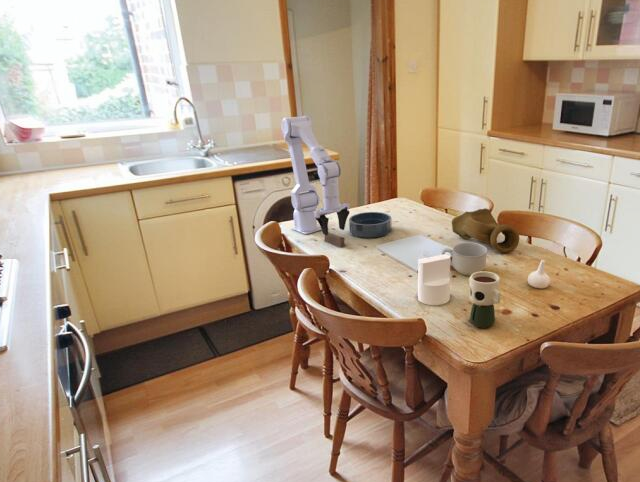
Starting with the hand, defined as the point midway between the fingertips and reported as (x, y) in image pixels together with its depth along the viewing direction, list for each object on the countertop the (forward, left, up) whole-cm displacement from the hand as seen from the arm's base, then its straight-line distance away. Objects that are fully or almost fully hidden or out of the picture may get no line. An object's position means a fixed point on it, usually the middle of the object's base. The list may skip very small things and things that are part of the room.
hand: (333, 231), depth 171 cm
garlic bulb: (+72, +20, -5) cm, 75 cm away
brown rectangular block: (0, 0, -5) cm, 5 cm away
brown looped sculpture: (+40, +37, -5) cm, 55 cm away
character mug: (+73, -9, -5) cm, 74 cm away
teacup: (+50, +13, -5) cm, 52 cm away
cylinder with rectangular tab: (+55, -7, -5) cm, 56 cm away
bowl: (0, +18, -5) cm, 19 cm away
